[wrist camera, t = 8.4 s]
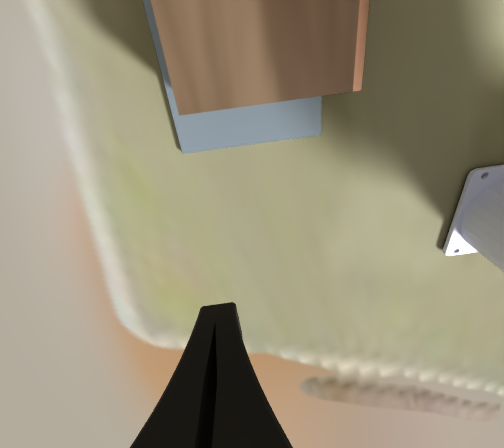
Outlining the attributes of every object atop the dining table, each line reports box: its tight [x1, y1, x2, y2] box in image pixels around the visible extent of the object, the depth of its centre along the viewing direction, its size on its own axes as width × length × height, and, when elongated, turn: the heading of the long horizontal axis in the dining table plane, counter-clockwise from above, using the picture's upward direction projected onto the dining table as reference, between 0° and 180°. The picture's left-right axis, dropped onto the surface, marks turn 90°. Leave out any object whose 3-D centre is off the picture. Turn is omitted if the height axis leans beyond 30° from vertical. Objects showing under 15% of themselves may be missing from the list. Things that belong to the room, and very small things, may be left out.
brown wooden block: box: [151, 0, 370, 116], centre depth 13 cm, size 4×6×8 cm
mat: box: [143, 0, 322, 154], centre depth 15 cm, size 9×12×1 cm
